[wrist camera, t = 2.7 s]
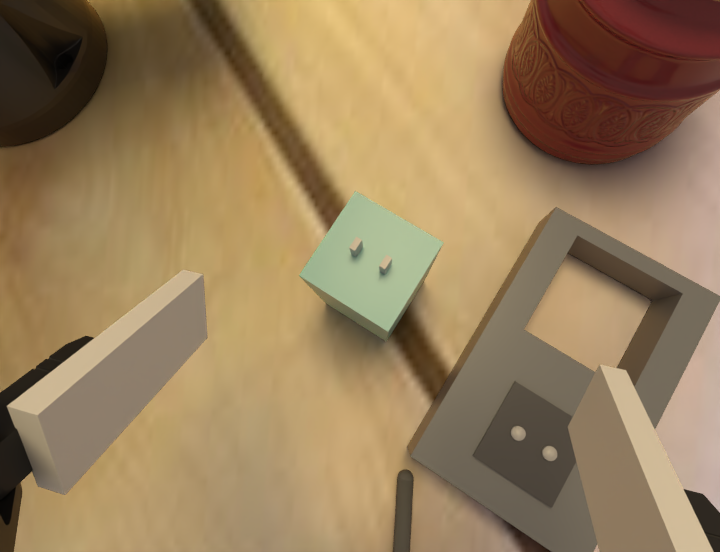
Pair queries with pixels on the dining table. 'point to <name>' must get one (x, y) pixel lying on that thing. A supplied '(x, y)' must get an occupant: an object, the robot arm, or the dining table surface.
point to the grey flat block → (551, 385)
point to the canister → (610, 73)
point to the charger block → (371, 265)
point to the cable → (403, 512)
